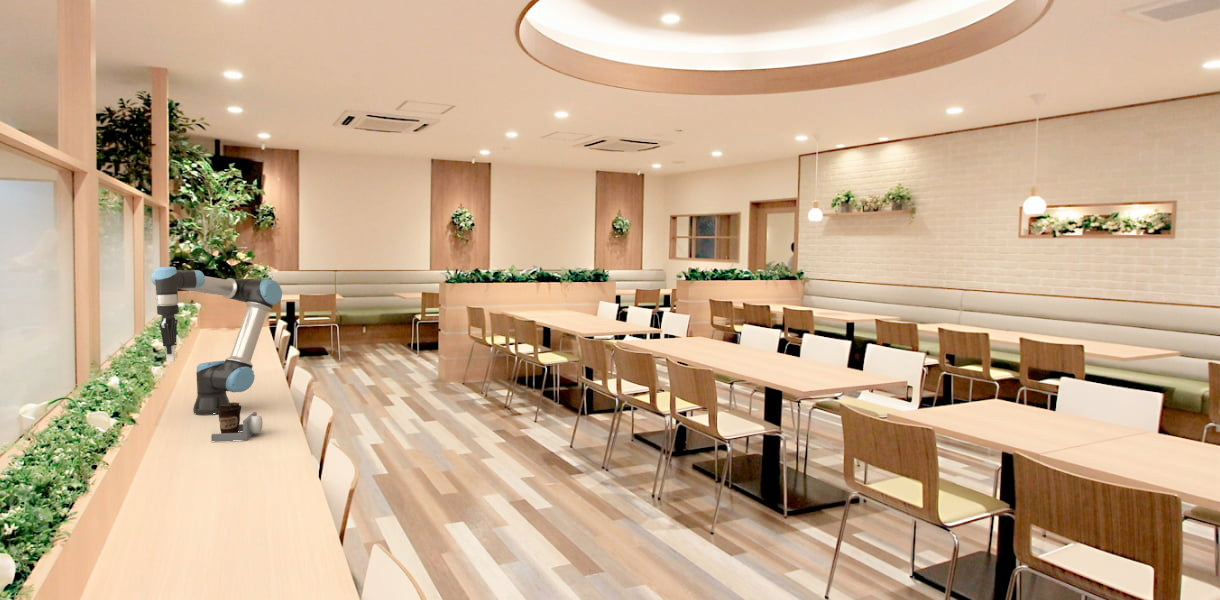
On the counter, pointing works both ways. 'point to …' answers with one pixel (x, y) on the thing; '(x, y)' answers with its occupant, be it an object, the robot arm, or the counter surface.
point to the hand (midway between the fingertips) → (170, 361)
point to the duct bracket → (242, 429)
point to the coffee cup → (229, 417)
